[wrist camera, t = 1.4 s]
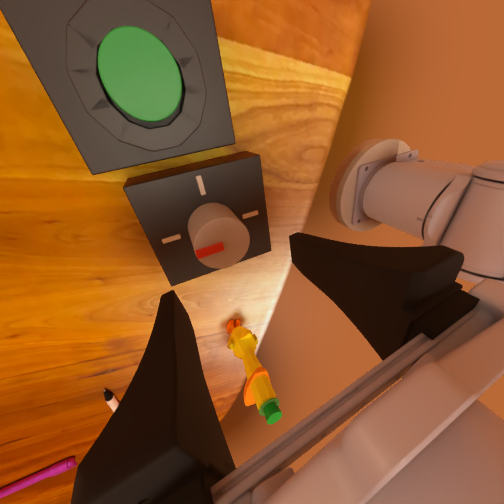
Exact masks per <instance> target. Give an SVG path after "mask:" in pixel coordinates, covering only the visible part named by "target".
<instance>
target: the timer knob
mask: <svg viewBox="0 0 504 504" xmlns="http://www.w3.org/2000/svg"><path fill="white" fill-rule="evenodd" d="M188 232H189V236H190V239H191V242H192V245H193V248H194V251H195V254H196V256H197V258H198V259H199V261H200V262H202V263H203V264H204V265H206V266H208V267H211V268H217V269H220V268H227V267H230V266H232V265H234V264H236V263H237V262H239V261H240V260H241V259H242V258H243V257H244V255H245V254H246V252H247V250H248V247H249V243H250V237H249V232H248V230H247V228H246V227H245V226H244V224H243V223H242V222H241V221H240V220H239V219H238V218H237V217H236V216H235V214H234V213H233V212H232V211H231V210H230V209H229V208H228V207H226V206H225V205H223V204H220V203H207V204H204V205H201V206H200V207H198V208H197V209H196V210H195V211H194V212H193V213H192V214H191V216H190V218H189V221H188Z"/></svg>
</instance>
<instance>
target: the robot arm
mask: <svg viewBox="0 0 504 504" xmlns="http://www.w3.org/2000/svg"><path fill="white" fill-rule="evenodd" d="M418 153H419V152H418V150H412V151H408V152H405V153H401V154H398V155H394V156H391V157H387V158H384V159H380V160H377V161H373V162H370V163H366V164H363V165H360V166H359V168H358V171H357V179H356V187H355V196H354V204H353V212H352V221H351V224H352V225H357V224H360V223H363V222H366V221H368V220H371V219H374V220H377V221H379V222H381V223H384V224H386V225H388V226H391V227H393V228H396V229H398V230H400V231H403V232H405V233H408V234H410V235H412V236H414V237H417V238H419V239H422V240H424V243H423V245H422V247H377V246H366V245H357V244H349V243H344V242H339V241H334V240H329V239H325V238H321V237H317V236H312V235H308V234H304V233H299V232H297V233H295V234H293V235H290V236H289V240H290V249H291V257H292V263H293V264H294V265H295V266H296V267H297V268H298V270H299V271H300V272H301V273H302V274H303V275H304V276H305V277H306V278H307V279H309V280H310V281H311V282H312V283H313V284H314V285H315V286H317V287H318V288H319V289H320V290H321V291H322V292H324V293H325V294H326V295H327V296H328V297H329V298H330V299H331V300H332V301H333V302H334V303H335V304H336V305H337V306H338V307H339V308H340V309H341V310H342V311H343V312H344V313H345V315H346V316H347V317H348V318H349V319H350V320H351V321H352V323H353V324H354V325H355V326H356V327H357V329H358V330H359V331H360V332H361V333H362V335H363V336H364V337H365V338H366V339H367V341H368V342H369V343H370V345H371V346H372V347H373V348H374V350H375V351H376V352H377V354H378V355H379V356H380V358H381V359H382V360H383V361H382V362H381V363H379V364H378V365H377V366H375V367H374V368H373V369H371V370H370V371H369V372H367V373H366V374H365V375H363V376H362V377H360V378H359V379H358V380H356V381H355V382H354V383H352V384H351V385H350V386H348V387H347V388H345V389H344V390H343V391H341V392H340V393H339V394H337V395H336V396H335V397H333V398H332V399H330V400H329V401H328V402H326V403H325V404H324V405H322V406H321V407H320V408H318V409H317V410H315V411H314V412H313V413H311V414H310V415H309V416H307V417H306V418H305V419H303V420H302V421H301V422H299V423H298V424H297V425H295V426H294V427H292V428H291V429H290V430H288V431H287V432H286V433H284V434H283V435H281V436H280V437H279V438H277V439H276V440H275V441H273V442H272V443H271V444H269V445H268V446H266V447H265V448H264V449H262V450H261V451H260V452H258V453H257V454H256V455H254V456H253V457H252V458H250V459H249V460H248V461H246V462H245V463H243V464H242V465H241V466H239V467H238V468H237V469H236V468H235V465H234V462H233V459H232V457H231V454H230V451H229V449H228V446H227V443H226V440H225V437H224V434H223V432H222V429H221V426H220V423H219V420H218V417H217V414H216V411H215V408H214V405H213V402H212V399H211V396H210V393H209V390H208V387H207V384H206V381H205V378H204V374H203V370H202V366H201V361H200V357H199V352H198V347H197V343H196V338H195V334H194V330H193V327H192V324H191V321H190V318H189V315H188V313H187V312H186V310H185V308H184V307H183V305H182V303H181V302H180V300H179V298H178V297H177V295H176V293H175V292H174V290H172V291H170V292H167V293H165V294H163V295H162V296H161V298H160V303H159V308H158V312H157V316H156V320H155V323H154V327H153V330H152V333H151V336H150V339H149V342H148V345H147V348H146V350H145V353H144V355H143V358H142V360H141V362H140V364H139V367H138V369H137V371H136V373H135V375H134V377H133V379H132V381H131V383H130V385H129V387H128V389H127V391H126V393H125V395H124V396H123V398H122V400H121V402H120V403H119V405H118V407H117V408H116V410H115V412H114V413H113V415H112V417H111V418H110V420H109V421H108V423H107V425H106V426H105V428H104V429H103V431H102V432H101V434H100V435H99V437H98V438H97V440H96V441H95V443H94V444H93V445H92V447H91V448H90V450H89V451H88V453H87V454H86V456H85V457H84V459H83V460H82V461H81V463H80V464H79V466H78V469H77V473H76V478H75V482H74V487H73V493H72V500H71V504H504V420H503V419H501V418H500V417H499V416H498V415H496V414H495V413H494V412H493V411H491V410H490V409H489V408H488V407H486V406H485V405H484V404H483V403H481V402H480V401H479V400H478V398H479V397H480V396H481V395H482V394H483V393H484V392H485V391H486V390H487V389H488V388H489V387H490V386H492V384H494V383H495V382H496V381H497V380H498V379H499V378H500V377H501V376H502V375H503V374H504V160H490V161H486V162H484V163H482V164H480V165H477V166H475V167H473V166H470V165H467V164H460V163H452V162H444V161H436V160H428V159H419V158H417V157H418ZM365 167H366V168H365ZM456 278H460V279H463V280H466V281H469V282H472V283H477V285H476V286H474V287H473V288H472V289H471V290H470V291H469V292H468V293H467V292H465V291H462V290H461V289H462V285H461V284H459V283H457V282H455V280H456ZM402 376H403V377H402ZM401 377H402V379H401V380H400V381H399V382H398V383H396V384H395V385H394V386H393V387H391V388H390V389H389V390H387V391H386V392H385V393H384V394H382V395H381V396H380V397H379V398H377V399H376V400H375V401H373V402H372V403H371V404H370V405H368V406H367V407H366V408H365V409H364V410H363V411H361V412H360V413H359V414H358V415H357V416H356V417H355V418H354V419H353V420H352V421H351V423H349V425H348V426H346V427H345V428H344V429H343V430H342V431H341V432H340V433H338V434H337V435H336V436H335V437H334V438H333V439H332V440H331V441H330V442H329V443H328V444H327V445H325V446H324V447H323V448H322V449H321V450H320V451H319V452H318V453H317V454H316V455H315V456H313V457H312V458H311V459H310V460H309V461H308V462H307V463H306V464H305V465H304V466H303V467H301V468H300V469H299V470H298V471H297V472H296V473H294V471H293V469H292V468H290V467H288V466H289V465H290V464H291V463H293V462H294V461H295V460H297V459H298V458H299V457H300V456H302V455H303V454H304V453H305V452H307V451H308V450H309V449H311V448H312V447H313V446H314V445H316V444H317V443H318V442H320V441H321V440H322V439H323V438H325V437H326V436H327V435H329V434H330V433H331V432H332V431H334V430H335V429H336V428H337V427H339V426H340V425H341V424H343V423H344V422H345V421H346V420H348V419H349V418H350V417H351V416H353V415H354V414H355V413H356V412H358V411H359V410H360V409H362V408H363V407H364V406H365V405H367V404H368V403H369V402H371V401H372V400H373V399H374V398H375V397H377V396H378V395H379V394H381V393H382V392H383V391H384V390H386V389H387V388H388V387H389V386H391V385H392V384H394V383H395V382H396V381H397V380H399V379H400V378H401ZM286 467H288V468H287V469H285V468H286ZM284 469H285V470H284Z"/></svg>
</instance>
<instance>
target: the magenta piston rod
mask: <svg viewBox="0 0 504 504" xmlns="http://www.w3.org/2000/svg"><path fill="white" fill-rule="evenodd" d="M76 465H77V462H75V458H73V457H71V458H67V459H65V460H63V461H60V462H58V463H56V464H54V465H52V466H51V467H49V468H46V469H44V470H42V471H39V472H37V473H35V474H33V475H30V476H28V477H26V478H24V479H21V480H19V481H17V482H15V483H12V484H10V485H8V486H5V487H3V488H2V489H0V498H2V497H5V496H7V495H9V494H11V493H14V492H16V491H18V490H20V489H22V488H25V487H27V486H29V485H31V484H34V483H36V482H38V481H40V480H43V479H45V478H47V477H49V476H50V477H52V476H56V475H58V474H60V473H62V472H65V471H67V470H69V469H71V468H72V467H74V466H76Z"/></svg>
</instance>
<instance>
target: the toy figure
mask: <svg viewBox="0 0 504 504" xmlns="http://www.w3.org/2000/svg"><path fill="white" fill-rule="evenodd" d="M227 332H228V333H231V336H230V338H229V339H228V348H229V349H232V350H233V352H234V355H235V356H236V357H238V358H240V359H242V360H243V363H244V367H245V371H246V375H247V379H248V380H247V382H246V385H245V389H244V395H243V396H244V401H245V405H246V406H249V405H252V404H254V403H256V404H257V407H258V410H259V414H260V415H262V416H265V417H266V420H267V423H268V424H273V423H275V422H276V421H278V420H279V419H280V418H281V416H282V413H281V411H280V409H279V408H278V406H279V400H278V399H277V397H276V395H275V392H274V390H273V388H272V386H271V384H270V379H269V375H268V372H267V370H266V369H264V368H262V366H261V364H260V363H259V361H258V359H257V357H256V356H255V354H254V353H255V349H256V345H257V344H258V339H257V337H256V335H255V334H253V335H252V333H251V330H249V329H247V328H244V327H241V325H240V319H237V320H236V321H235V324H234V320H230V321H229V323H228V325H227Z"/></svg>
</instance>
